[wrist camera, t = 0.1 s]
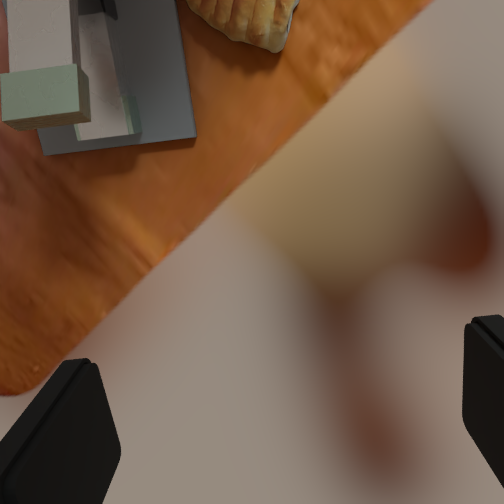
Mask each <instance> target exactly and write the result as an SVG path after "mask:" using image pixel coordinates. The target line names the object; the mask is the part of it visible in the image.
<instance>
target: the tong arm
mask: <svg viewBox="0 0 504 504" xmlns="http://www.w3.org/2000/svg"><path fill="white" fill-rule="evenodd" d="M7 17H8V44H9V71H10V73H4V74H0V81H1V109H2V121H3V122H4V123H6V124H7V125H9V126H11V127H12V128H14V129H15V130H17V131H25V130H33V129H40V128H48V127H56V126H64V125H72V124H79V123H87V122H91V108H90V91H89V77H88V76H87V75H86V73H85V72H84V71H83V70H82V69H81V53H80V36H79V19H78V1H77V0H7Z"/></svg>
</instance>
